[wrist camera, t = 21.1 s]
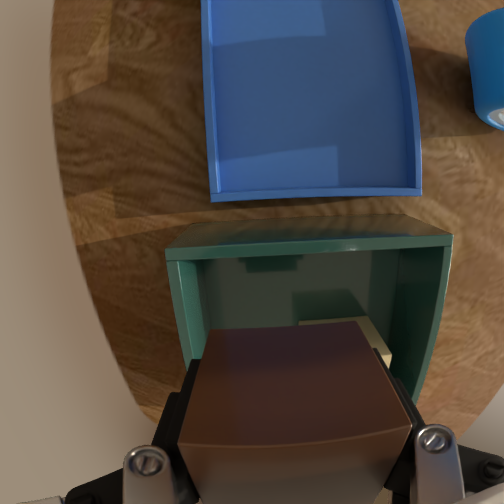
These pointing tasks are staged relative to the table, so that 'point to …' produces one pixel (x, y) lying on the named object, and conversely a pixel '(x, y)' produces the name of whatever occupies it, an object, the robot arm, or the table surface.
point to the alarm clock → (487, 66)
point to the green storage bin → (314, 280)
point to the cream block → (367, 329)
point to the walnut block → (291, 417)
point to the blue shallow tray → (309, 100)
